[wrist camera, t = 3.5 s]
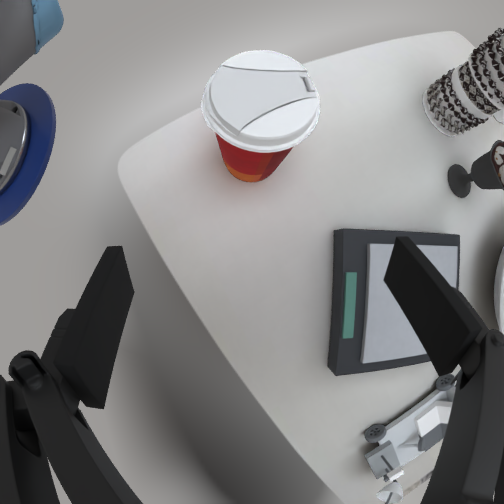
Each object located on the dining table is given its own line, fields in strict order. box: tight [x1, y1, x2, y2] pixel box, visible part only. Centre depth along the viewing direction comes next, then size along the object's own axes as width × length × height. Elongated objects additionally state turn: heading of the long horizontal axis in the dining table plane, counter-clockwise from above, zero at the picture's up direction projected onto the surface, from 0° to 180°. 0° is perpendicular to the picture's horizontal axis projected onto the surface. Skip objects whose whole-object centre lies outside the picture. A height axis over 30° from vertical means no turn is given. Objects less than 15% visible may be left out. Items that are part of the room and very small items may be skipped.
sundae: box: [448, 140, 504, 198], centre depth 27 cm, size 7×7×15 cm
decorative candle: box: [422, 28, 504, 137], centre depth 22 cm, size 9×9×25 cm
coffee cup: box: [201, 50, 320, 182], centre depth 25 cm, size 8×8×15 cm
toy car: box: [365, 374, 456, 504], centre depth 29 cm, size 18×10×12 cm
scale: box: [328, 229, 460, 376], centre depth 32 cm, size 17×16×4 cm
